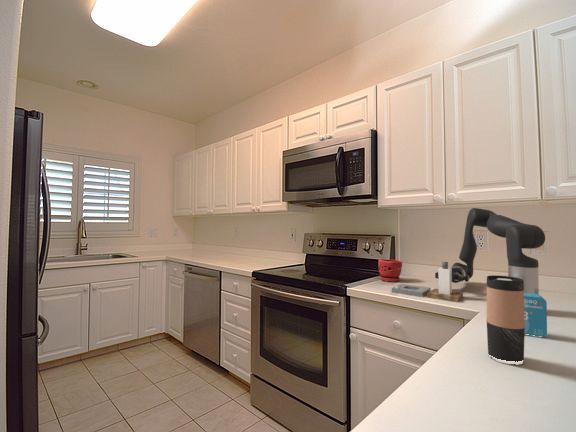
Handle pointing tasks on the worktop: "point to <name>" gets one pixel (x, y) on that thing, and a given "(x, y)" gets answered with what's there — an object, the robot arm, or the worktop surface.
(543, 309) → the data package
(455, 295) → the brown square frame
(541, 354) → the worktop surface
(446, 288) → the plug
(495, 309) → the travel mug
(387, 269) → the plant pot
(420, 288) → the port plate
